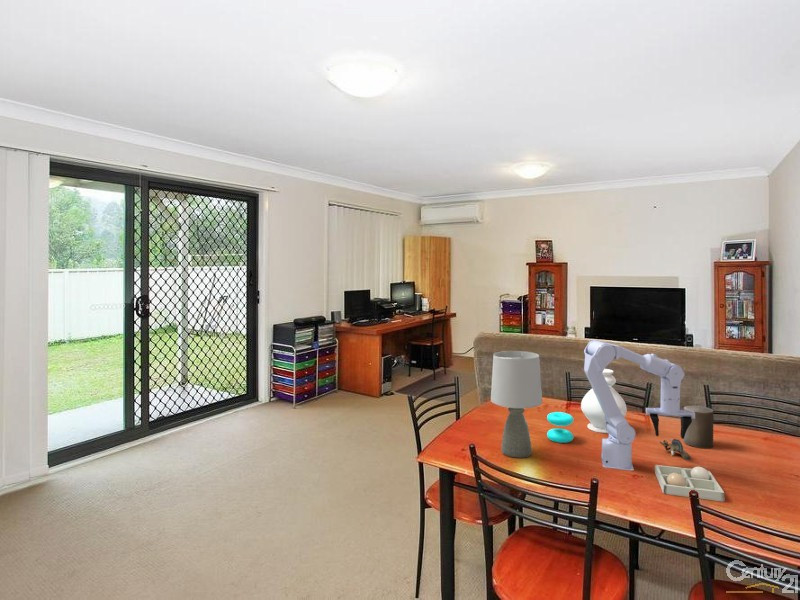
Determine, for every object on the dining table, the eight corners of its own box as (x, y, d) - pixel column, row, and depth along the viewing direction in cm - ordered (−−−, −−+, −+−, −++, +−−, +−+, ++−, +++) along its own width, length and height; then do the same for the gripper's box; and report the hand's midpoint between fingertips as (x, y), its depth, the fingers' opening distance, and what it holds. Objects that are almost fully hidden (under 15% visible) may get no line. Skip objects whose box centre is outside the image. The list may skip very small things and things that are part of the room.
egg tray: (663, 494, 138) (663, 485, 138) (654, 473, 152) (655, 464, 152) (724, 503, 132) (724, 492, 132) (709, 480, 147) (709, 470, 147)
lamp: (548, 449, 175) (548, 352, 172) (532, 466, 159) (532, 361, 157) (502, 439, 185) (501, 349, 183) (483, 455, 170) (482, 356, 168)
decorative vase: (634, 435, 187) (635, 374, 186) (590, 435, 188) (590, 375, 186) (615, 421, 205) (615, 365, 204) (574, 421, 206) (575, 366, 204)
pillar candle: (718, 449, 172) (718, 409, 171) (689, 447, 174) (689, 408, 173) (706, 440, 181) (707, 402, 180) (679, 438, 183) (679, 401, 182)
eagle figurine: (656, 451, 168) (681, 455, 160) (660, 432, 170) (684, 435, 163) (668, 459, 171) (693, 463, 163) (672, 440, 173) (696, 444, 165)
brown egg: (668, 492, 139) (668, 475, 138) (665, 484, 143) (665, 469, 143) (687, 494, 137) (687, 478, 137) (683, 487, 142) (684, 471, 141)
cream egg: (690, 483, 143) (694, 468, 142) (687, 476, 148) (691, 461, 147) (709, 488, 141) (713, 473, 141) (704, 481, 146) (708, 467, 145)
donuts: (555, 409, 191) (578, 415, 183) (555, 433, 192) (578, 439, 184) (542, 414, 185) (564, 420, 177) (542, 439, 185) (564, 446, 178)
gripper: (691, 396, 159) (691, 434, 160) (644, 393, 164) (644, 430, 165) (697, 401, 152) (696, 442, 153) (647, 398, 157) (647, 437, 158)
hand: (669, 436), depth 158 cm, fingers open, 7 cm apart
